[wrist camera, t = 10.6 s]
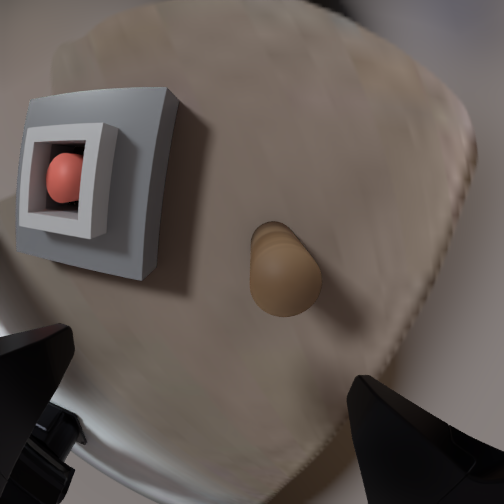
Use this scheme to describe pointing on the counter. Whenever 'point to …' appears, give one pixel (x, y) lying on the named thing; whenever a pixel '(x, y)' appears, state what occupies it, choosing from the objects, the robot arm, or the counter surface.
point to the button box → (97, 178)
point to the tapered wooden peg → (282, 271)
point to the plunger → (64, 177)
